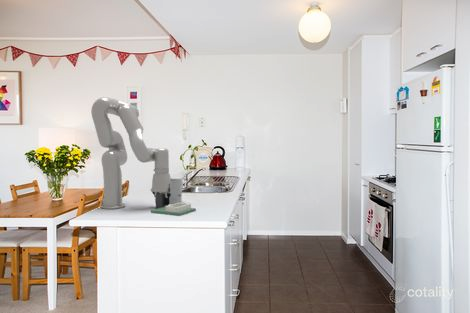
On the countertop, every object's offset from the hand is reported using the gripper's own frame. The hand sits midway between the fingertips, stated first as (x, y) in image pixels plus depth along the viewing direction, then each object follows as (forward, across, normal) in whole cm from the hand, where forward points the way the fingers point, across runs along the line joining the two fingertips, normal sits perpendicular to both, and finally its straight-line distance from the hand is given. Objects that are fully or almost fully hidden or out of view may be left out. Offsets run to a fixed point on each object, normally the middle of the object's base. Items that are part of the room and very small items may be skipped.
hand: (162, 204), depth 205 cm
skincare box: (+2, -3, +15) cm, 15 cm away
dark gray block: (+2, 0, 0) cm, 2 cm away
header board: (+2, +12, -6) cm, 14 cm away
